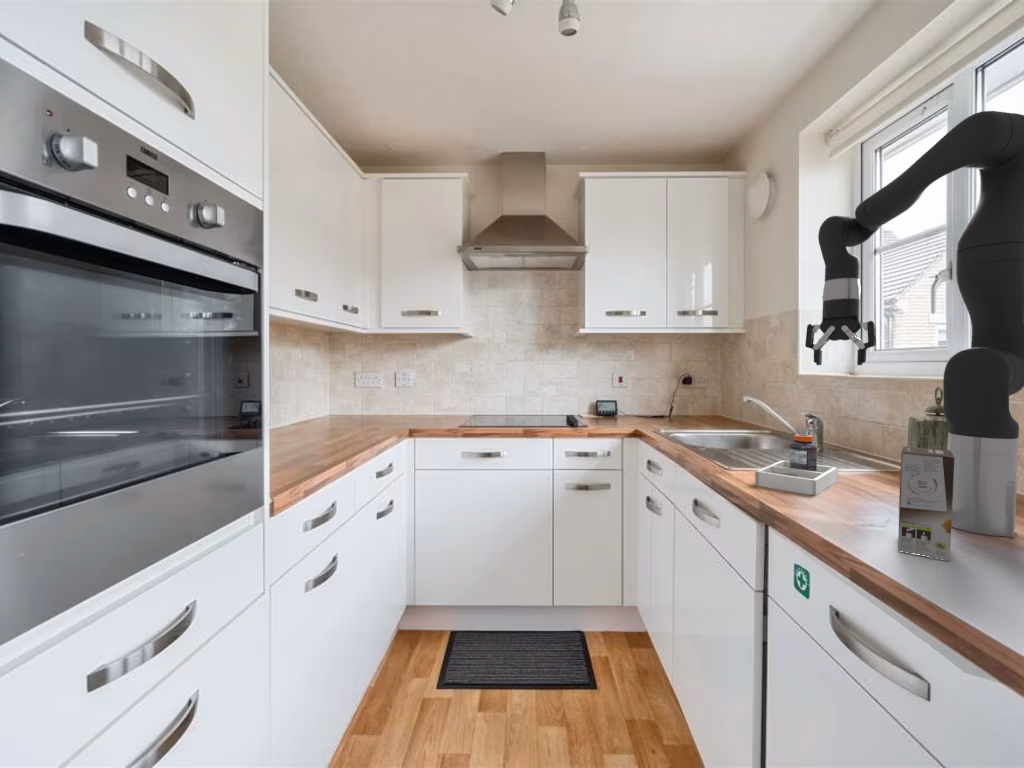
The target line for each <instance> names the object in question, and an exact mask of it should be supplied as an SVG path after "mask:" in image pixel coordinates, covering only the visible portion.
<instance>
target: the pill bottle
mask: <svg viewBox="0 0 1024 768" xmlns="http://www.w3.org/2000/svg"><path fill="white" fill-rule="evenodd" d="M813 437H814V436H813V435H811V434H801V433H800V434H799V433H798V434H794V435H793V442H791V443H790V444H789V456H788V457H789V460H788V461H789V468H793V469H800V470H807V471H814V472H817V465H818V463H817V461H818V447H817V445H816V444H815V443H813V441H814V438H813Z"/></svg>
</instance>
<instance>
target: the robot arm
mask: <svg viewBox="0 0 1024 768" xmlns="http://www.w3.org/2000/svg"><path fill="white" fill-rule="evenodd" d="M962 168H965V169H973V170H978V172H979V181H980V182H979V183H980V184H979V199H978V202H977V205H976V208H975V210H974V212H973V214H971V216H970V218H969V219H968V221H967V223H966V224H965V226H964V228H963V229H962V232H961V234H960V235H959V237H958V241H957V244H956V250H955V251H956V252H955V253H956V254H955V276H956V283H957V286H958V289H959V292H960V295H961V298H962V300H963V303H964V304H965V307H966V310H967V312H968V315H969V318H970V322H971V323H970V324H971V345H970V347H968V348H964V349H962V350H959V351H958V352H956V353H954V354H953V356H951V357H950V358H949V359H948V361H947V363H946V365H945V367H944V372H943V381H942V382H943V385H942V386H943V387H942V390H943V399H942V402H943V405H944V414H943V415H945V418H946V420H947V423H948V447H947V448H948V449H947V450H950V451H951V452H952V454H953V456H954V458H955V459H954V481H953V505H952V524H951V528H954V529H958V530H961V531H962V530H963V531H966V532H970V533H974V534H979V535H987V536H995V537H996V536H998V537H1008V538H1015V533H1016V531H1015V529H1016V514H1017V513H1016V510H1017V507H1016V506H1017V493H1018V492H1017V490H1018V484H1017V478H1018V476H1017V473H1018V453H1019V452H1018V451H1019V437H1020V436H1019V435H1020V433H1019V432H1020V425H1019V423H1018V422H1017V420H1016V419H1014V418H1013V417H1012V416H1013V415H1012V414H1011V412H1010V396H1012V395H1015V394H1017V393H1019V392H1020V391H1021V390H1022V389H1024V114H1021V113H1014V112H1005V111H998V110H986V111H985V110H983V111H979V112H975V113H973V114H971V115H969V116H968V117H966V118H965V119H963V120H961V121H960V122H959V123H958V124H956V125H955V126H954V127H953V128H952V129H950V130H949V131H948V132H947V133H946V134H944V135H943V136H942V137H941V138H940V139H939V140H938V141H937V142H936V143H935V144H934V145H933V146H932V147H930V148H929V149H928V150H927V151H926V152H925V153H923V154H922V156H920V157H919V158H917V160H916V161H915V162H913V163H912V164H911V165H910V166H909V167H908V168H906V169H905V171H903V172H902V173H901V174H900V175H899V176H897V177H896V178H894V179H893V180H891V182H889V183H888V184H886V185H885V186H883V187H882V188H880V189H879V190H878V191H875V192H874V193H873V194H872V195H870V196H868V197H866V198H865V199H864V200H863V201H861V202H860V203H859V204H858V205H857V207H856V208H855V211H854V216H846V215H844V216H843V215H832V216H829V217H827V218H826V219H824V220H823V222H822V223H821V225H820V227H819V230H818V233H817V235H818V236H817V238H818V244H819V247H820V251H821V255H822V260H823V262H824V263H823V264H824V267H825V269H824V286H823V290H822V291H823V293H822V311H821V312H822V318H821V323H820V324H812V323H808V324H807V326H806V333H805V335H806V336H805V345H804V346H805V347H806V348H809V349H812V350H813V363H814V364H816V366H822V360H823V350H822V349H823V347H824V346H825V345H826V344H827V343H829V342H830V341H833V342H834V341H835V342H836V341H850V340H851V341H852V342H853V343H854V344H855V345H856V346H857V347H858V349H857V360H856V361H857V366H863V363H864V364H865V363H866V361H867V350H868V349H869V348H873V347H876V346H877V332H876V331H877V327H876V322H874V321H872V320H870V321H869V320H868V321H867V322H866V321H865V322H861V321H860V305H861V304H860V303H861V284H860V266H861V265H860V264H861V261H860V258H859V256H857V255H855V254H852V253H850V252H849V251H848V249H847V248H853V247H856V246H859V245H861V244H863V243H865V242H866V241H868V240H869V239H870V238H871V237H872V236H873V235H874V234H875V233H876V232H877V231H878V230H879V229H880V228H881V227H882V226H883V225H885V224H887V223H889V222H890V221H892V220H895V219H896V218H897V217H899V216H901V215H902V214H904V213H905V212H907V211H909V209H911V208H912V207H913V206H914V205H915V204H916V203H917V202H918V201H919V199H920V198H921V196H923V194H924V193H925V191H926V190H927V189H928V188H929V187H930V186H931V185H932V184H933V183H934V182H936V181H937V180H939V179H940V178H942V177H943V178H944V177H945V176H947V175H949V174H951V173H952V172H955V171H957V170H959V169H962ZM861 328H863V330H864V331H865V332H867V342H864V341H863V340H862V339H861V337H859V335H858V334H857V333H858V332H859V331H860V330H861ZM819 330H820V331H821V332H822V333H823V335H822V336H821V337H820V338H819V339H818V341H817V342H816V343H814V341H815V340H814V339H815V334H816V333H818V331H819Z"/></svg>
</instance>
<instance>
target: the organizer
mask: <svg viewBox="0 0 1024 768" xmlns="http://www.w3.org/2000/svg"><path fill="white" fill-rule="evenodd" d="M838 470H839V468H838V467H837V466H829V465H823V464H822V465H821V464H817V472H814V471H807V470H800V469H793V468H789V460H779V461H778V462H777V461H776V462H775V463H772V464H770V465H768V466H765V467H763V468H760V469H758V470H756V471H754V473H755V474H754V485H755V486H756V487H757V486H758V487H764V488H768V489H769V488H770V489H775V490H781V491H785V492H792V493H797V494H803V495H809V496H810V495H811V496H818V495H819V494H820V493H822V492H823V491H825V490H826V489H828V488H829V487H830V486H832V485H833V484H835V483H836V482H838ZM780 473H788V474H797V475H801V476H804V477H806V478H800V477H794V476H787V475H781V474H780Z"/></svg>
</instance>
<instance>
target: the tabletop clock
mask: <svg viewBox="0 0 1024 768" xmlns="http://www.w3.org/2000/svg"><path fill="white" fill-rule="evenodd" d="M938 392H939V393H940V396H939V397H938ZM934 401H935V403H934V404H930V405H928V406H927V407H926V408H925V410H924V413H918V414H915V415H913V416H909V418H908V427H907V428H908V430H907V447H915V448H931V449H942V450H947V449H948V448H947V447H948V423H947V420H946V418H945V415H944V404H942V402H943V387H942V386H936V387H935V389H934Z"/></svg>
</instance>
